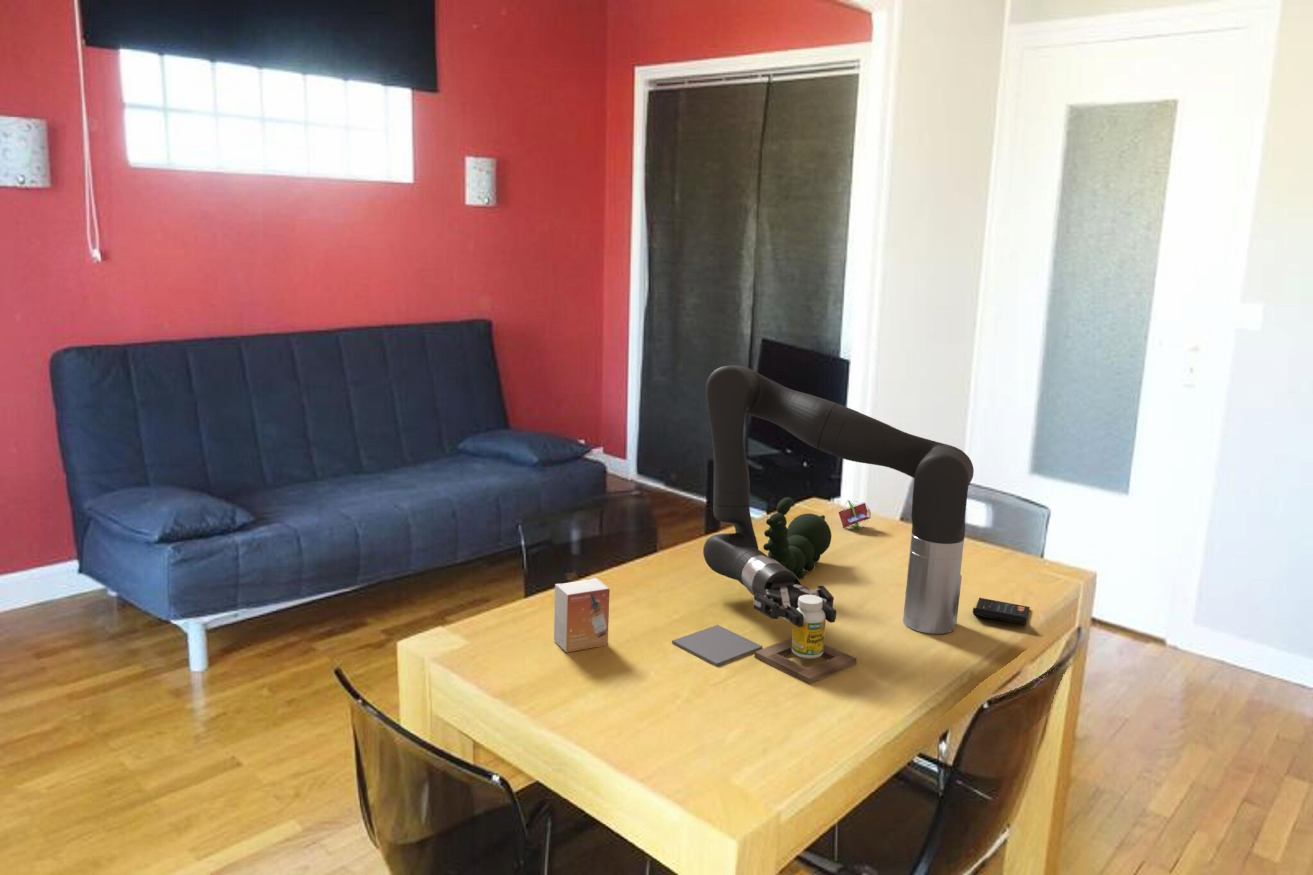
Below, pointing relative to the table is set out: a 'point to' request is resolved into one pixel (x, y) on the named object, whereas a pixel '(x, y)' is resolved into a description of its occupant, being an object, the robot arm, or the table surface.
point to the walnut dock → (808, 675)
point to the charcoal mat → (717, 645)
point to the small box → (581, 615)
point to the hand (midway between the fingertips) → (817, 619)
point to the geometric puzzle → (854, 515)
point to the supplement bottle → (809, 628)
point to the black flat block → (1001, 611)
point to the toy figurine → (796, 539)
